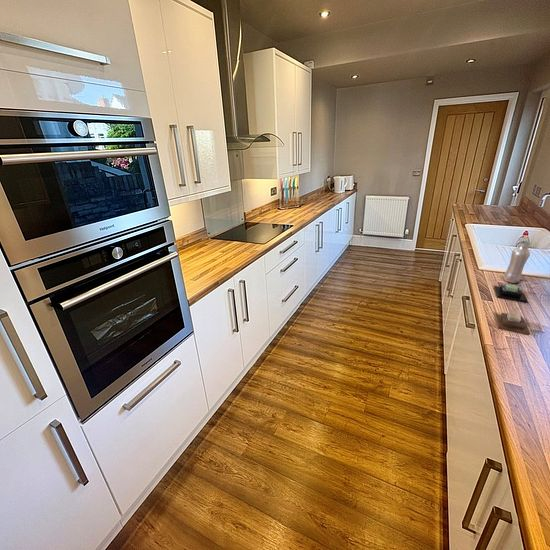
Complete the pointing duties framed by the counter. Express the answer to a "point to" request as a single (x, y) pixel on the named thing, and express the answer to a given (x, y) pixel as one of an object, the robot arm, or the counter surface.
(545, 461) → the counter surface
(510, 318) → the key near
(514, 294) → the keypad far
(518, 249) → the plastic bottle
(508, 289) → the key far
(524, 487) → the counter surface
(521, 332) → the keypad near
